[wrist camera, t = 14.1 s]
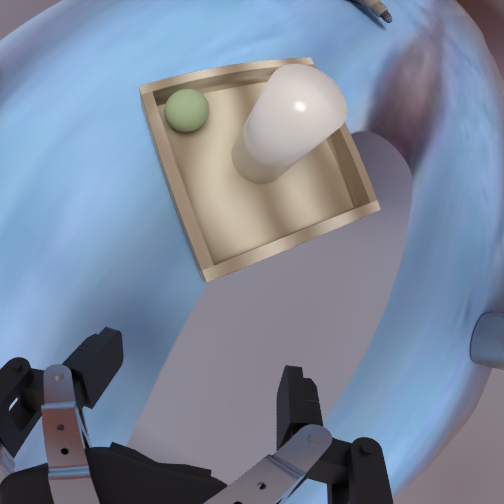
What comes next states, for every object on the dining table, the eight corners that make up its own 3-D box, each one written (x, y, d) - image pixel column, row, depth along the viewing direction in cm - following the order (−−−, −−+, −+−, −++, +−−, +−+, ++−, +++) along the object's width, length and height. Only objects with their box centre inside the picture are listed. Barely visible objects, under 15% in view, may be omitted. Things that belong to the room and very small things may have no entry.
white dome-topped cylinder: (272, 126, 27) (323, 61, 16) (294, 174, 27) (360, 126, 16) (222, 139, 25) (254, 68, 15) (244, 191, 26) (292, 141, 15)
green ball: (199, 98, 25) (204, 76, 21) (212, 132, 25) (219, 111, 21) (159, 109, 24) (158, 87, 20) (171, 144, 24) (171, 124, 20)
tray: (297, 74, 29) (310, 57, 25) (360, 214, 30) (380, 209, 26) (141, 105, 24) (138, 86, 21) (202, 280, 25) (207, 282, 22)
